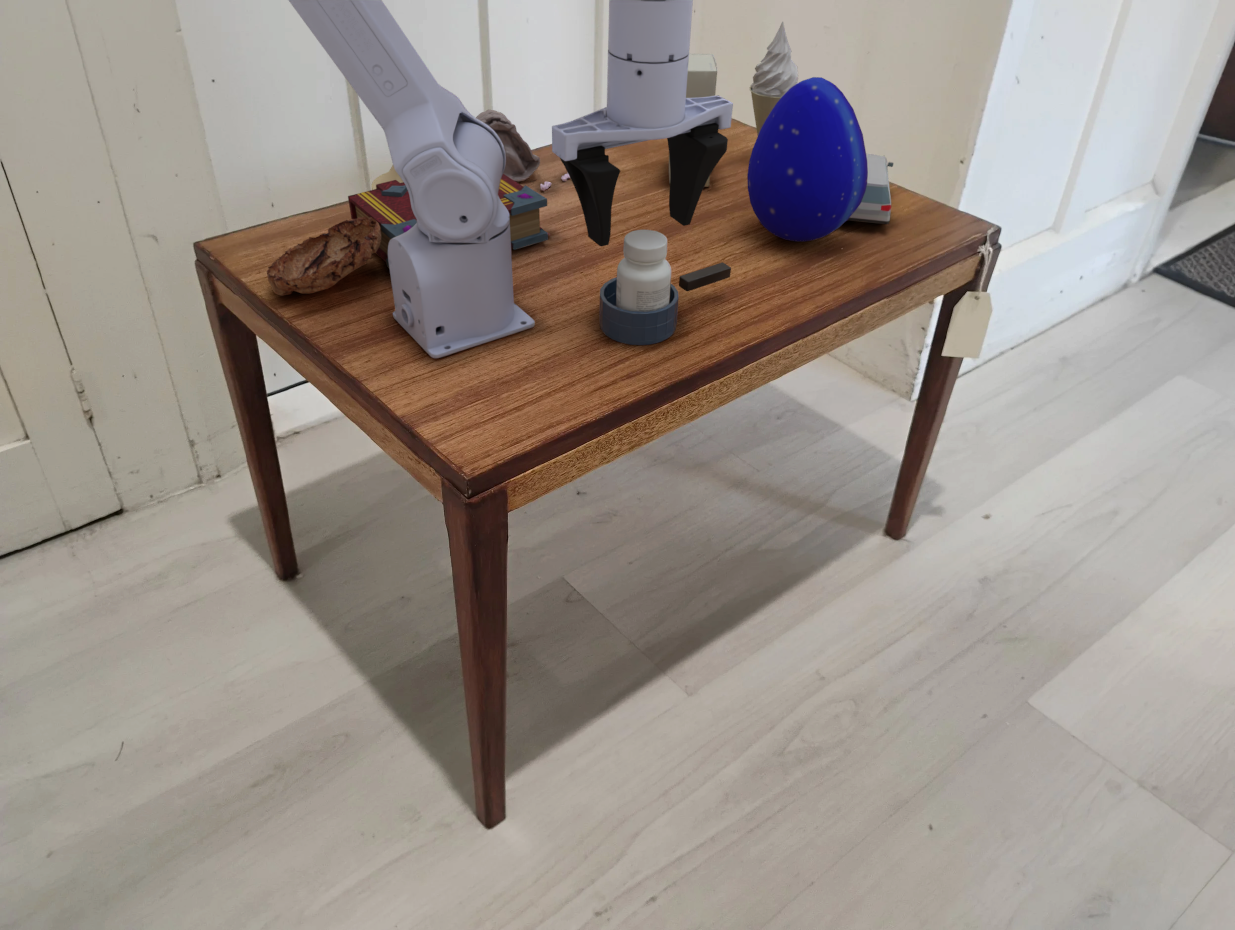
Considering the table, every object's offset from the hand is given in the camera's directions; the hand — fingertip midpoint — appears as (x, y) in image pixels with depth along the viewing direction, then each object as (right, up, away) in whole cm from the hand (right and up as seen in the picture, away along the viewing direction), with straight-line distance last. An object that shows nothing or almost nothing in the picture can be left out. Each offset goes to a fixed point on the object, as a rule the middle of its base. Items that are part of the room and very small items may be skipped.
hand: (640, 230), depth 76 cm
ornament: (+16, +4, +19) cm, 25 cm away
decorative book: (-17, +3, +16) cm, 24 cm away
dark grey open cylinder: (0, -7, +5) cm, 9 cm away
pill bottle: (0, -7, +5) cm, 8 cm away
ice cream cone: (+15, +16, +33) cm, 39 cm away
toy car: (+23, +9, +25) cm, 35 cm away
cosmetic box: (+6, +13, +29) cm, 33 cm away
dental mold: (-14, +14, +24) cm, 31 cm away
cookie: (-28, +1, +7) cm, 28 cm away
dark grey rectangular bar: (+6, -3, +7) cm, 9 cm away
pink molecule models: (-9, +11, +26) cm, 30 cm away
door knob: (-21, +11, +18) cm, 30 cm away
